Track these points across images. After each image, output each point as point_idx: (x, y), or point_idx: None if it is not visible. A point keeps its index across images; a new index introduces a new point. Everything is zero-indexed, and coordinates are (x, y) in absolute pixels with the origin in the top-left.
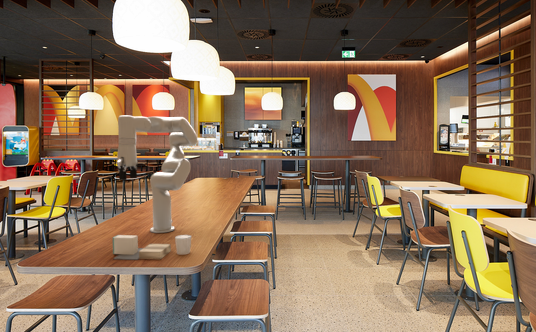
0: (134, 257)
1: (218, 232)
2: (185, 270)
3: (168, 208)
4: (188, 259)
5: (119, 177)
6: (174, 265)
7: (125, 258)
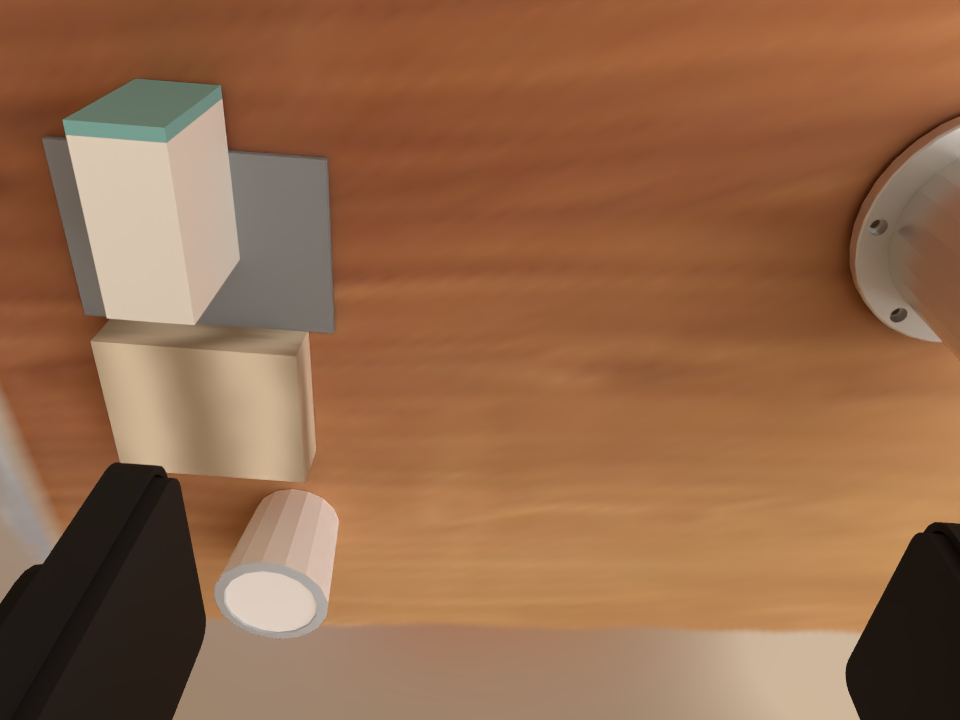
0: None
1: (775, 624)
2: None
3: None
4: None
5: (78, 526)
6: None
7: (67, 232)
